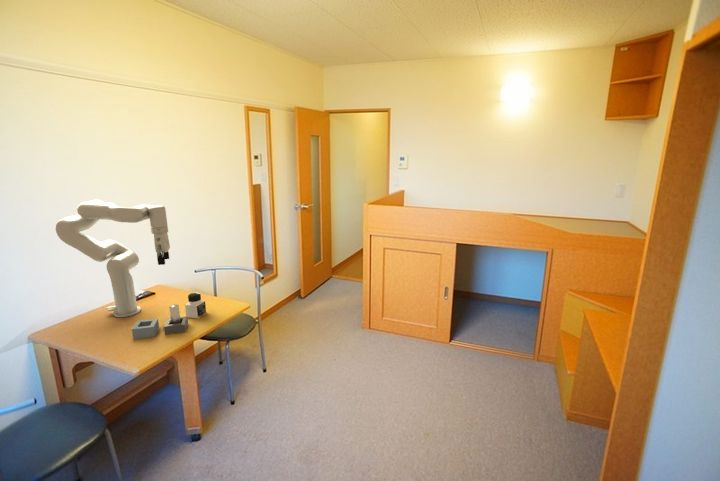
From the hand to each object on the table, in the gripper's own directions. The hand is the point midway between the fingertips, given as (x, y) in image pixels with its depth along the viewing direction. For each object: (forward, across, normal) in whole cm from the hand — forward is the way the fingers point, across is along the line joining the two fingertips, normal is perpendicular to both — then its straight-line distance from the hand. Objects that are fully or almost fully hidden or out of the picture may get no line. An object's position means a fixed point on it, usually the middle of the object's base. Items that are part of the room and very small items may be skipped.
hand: (163, 261), depth 189 cm
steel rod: (+28, -22, -7) cm, 36 cm away
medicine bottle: (+28, -8, -14) cm, 33 cm away
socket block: (+28, -23, +6) cm, 37 cm away
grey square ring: (+28, -22, -7) cm, 37 cm away
